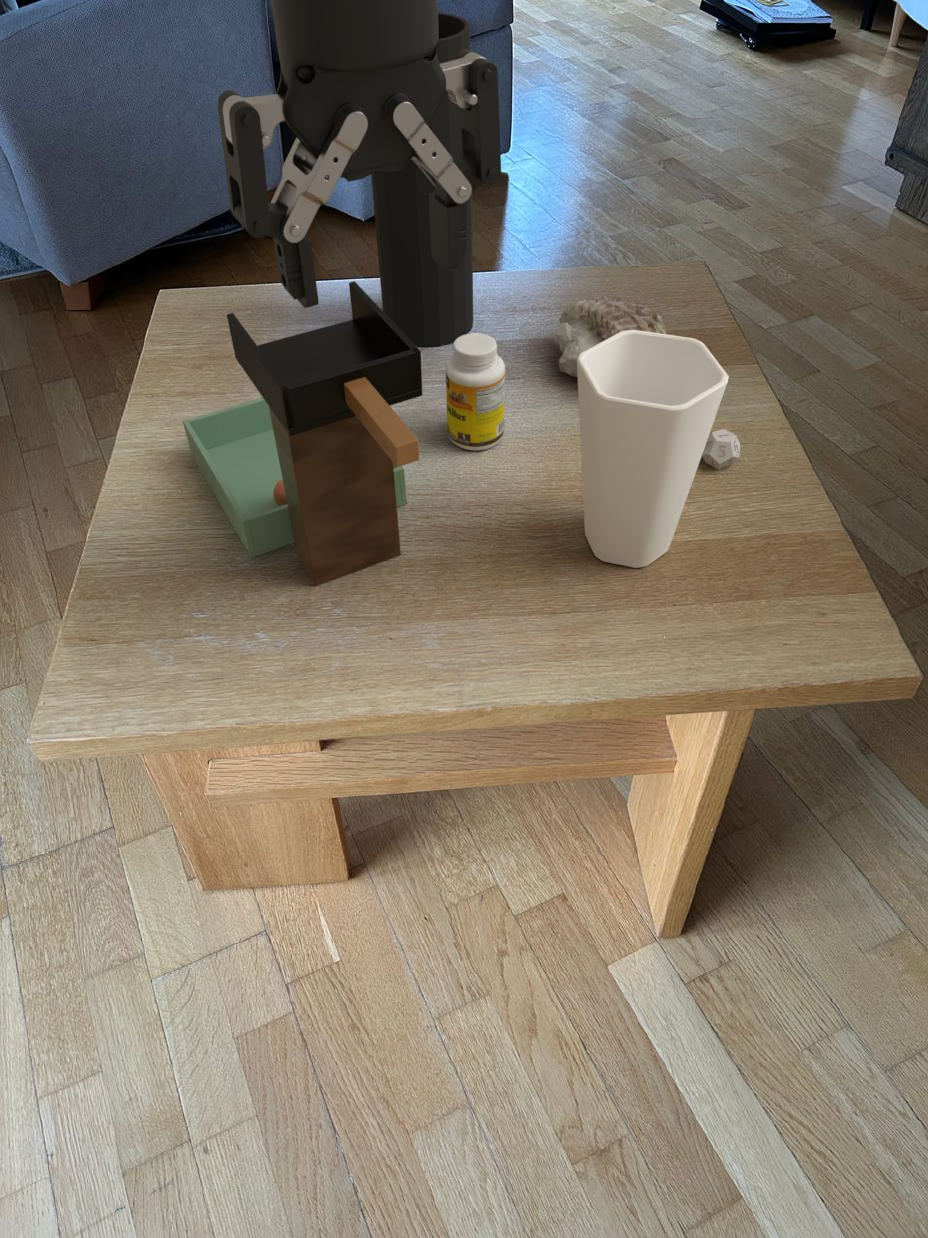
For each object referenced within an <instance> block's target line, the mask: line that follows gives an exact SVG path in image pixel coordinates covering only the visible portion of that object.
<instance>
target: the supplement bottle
mask: <svg viewBox="0 0 928 1238" xmlns="http://www.w3.org/2000/svg"><path fill="white" fill-rule="evenodd" d="M497 347H498V345H497V341H496V340H495V339H494V337H492V336H490V335H488V334H485V333H479V332H471V333H467V334H465V335H462V336H460V337H458V338H457V339H456V340H455V342H453V351H452V356H450V357H449V358H448V360H447V362H446V364H445V384H446V385H445V392H446V393H445V394H446V423H447V436H448V438H449V439H450V441H451V442H452V443H453V444H454V445H456V446H457V447H459V448H461V449H464V450H468V451H484V450H487V449H491V448H493V447H495V446H496V445H498V444H499V442H500V441H501V440H502V439H503V438H504V432H505V408H506V407H505V401H506V365H505V364H506V363H505V362H504V360H503V358H502V357H500V355H498V350H497V349H498V348H497Z"/></svg>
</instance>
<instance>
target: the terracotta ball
mask: <svg viewBox="0 0 928 1238" xmlns="http://www.w3.org/2000/svg"><path fill="white" fill-rule="evenodd" d="M273 498H274V501H275V503H276V504H277V505H278V507H280V506H283V505H286V504H287V500H286V494H285V489H284V484H283V479H282V480H280V481H279V482H278V483H277V484H276V485H275V487H274V490H273Z"/></svg>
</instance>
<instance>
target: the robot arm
mask: <svg viewBox="0 0 928 1238" xmlns="http://www.w3.org/2000/svg"><path fill="white" fill-rule="evenodd" d="M438 1H439V0H270V2H271V3H270V4H271V8H272V10H271V11H272V17H273V25H274V31H275V40H276V47H277V53H278V59H279V64H280V65H279V66H280V78H279V83H278V87H277V89H276V93H275V94H274V93H273V94H265V95H255V96H247V97H242V96H241V95H240V94H239V93H237V92H236V91H234V90H225V91H223V92H222V93H221V94H220V95H219V96H218V98H217V112H218V119H219V127H220V135H221V143H222V150H223V151H222V152H223V160H224V167H225V176H226V183H227V190H228V197H229V198H228V199H229V206H230V212H231V214H232V216H233V217H234V219H236V221H237V222H238V223H239V224H240V225H241V226H242V227H243V228H244V229H245V231H247V232H248V234H249V235H250V236H251V237H252V238H256V239H262V238H265V236H266V237H272V239H273V245H274V251H275V257H276V264H277V265H276V266H277V270H278V277H279V282H280V283H281V285H282V287H283V288H284V290H285V291H286V293H288V294H289V295H290V297H291V298H292V299H293V300H294V301H295V300H297V302H298V303H300V304H301V306H302V307H303V308H304V309H308V308H312V307H316V306H318V305H319V303H320V302H319V294H318V293H319V292H318V285H317V279H316V270H315V262H314V256H313V247H312V241H311V239H310V238H309V237H308V236H307V233H308V231H309V229H310V227H311V225H312V223H313V221H314V220H315V217H316V215H317V213H318V211H319V209H320V207H321V206H323V205H325V204H326V203H328V202H329V201H330V199H331V197H332V195H333V193H334V190H335V188H336V187H337V185H338V183H339V180H340V179H341V178H342V179H345V180H346V181H347V182H348V183H349V182H354V181H359V180H363V179H365V178H366V177H367V178H368V177H369V176H371V174H372V173H374V172H377V171H380V172H395V171H400V170H405V167H404V165H405V164H406V163H407V162H409V161H410V160H411V159H412V160H413V161H414V162H415V163H416V164H417V166H418V167H419V168H420V169H421V170H422V172H423V173H424V174H425V175H426V177H427V178H428V179H429V180H430V181H431V183H432V184H433V185H434V186H435V193H431V194H429V210H430V237H431V254H432V258H433V260H434V262H435V263H436V264H438V265H439V266H440V267H441V268H442V269H443V270H444V271H446V272H448V271H452V270H456V269H458V268H459V266H460V258H461V257H464V256H465V253H466V249H467V200H468V199H469V198H470V196H471V193H472V194H473V192H474V191H475V190H477V189H478V188H480V187H481V186H483V185H484V184H485V185H487V186H491V185H494V184H495V183H497V182H498V181H499V180H500V177H501V176H502V157H501V156H502V154H501V132H500V131H501V129H500V128H501V127H500V126H501V125H500V101H499V75H498V74H499V72H498V67H497V66H496V64H495V63H494V62H492V61H490V60H488V59H487V58H485V57H484V56H482V55H480V54H478V53H476V52H473V51H471V49H470V50H467V49H463V50H461V51H459V52H458V53H457V55H456V56H455V59H454V60H453V61H449V62H445V63H441V64H439V62H438V59H437V54H436V46H437V41H438V36H439V32H438V12H439V2H438ZM446 90H447V92H448V96H449V99H450V100H451V102H453V103H454V104H456V108H457V123H458V138H459V152H460V158H459V159H458V160H456V161H455V162H453V158H452V157H451V155H450V154H449V153H448V152H447V150H446V149H445V148H444V146H443V145H442V144H441V143H440V141H439V140H438V139H437V137H436V136H435V135H434V133H433V132H432V131H431V130H430V128H429V126H430V124H431V122H432V120H433V118H434V116H435V114H436V112H437V110H438V108H439V106H440V104H441V102H442V100H443V98H444V95H445V92H446ZM280 123H283V124H284V125H285V126H286V127H287V128H288V129H289V131H290V132H291V133H292V135H294V136H295V137H296V138H295V140H294V141H293V144H292V146H291V148H290V151H289V153H288V154H287V157H286V159H285V161H284V163H283V165H282V167H281V168H282V169H281V174H282V175H281V176H282V177H281V180H280V182H279V184H278V186H277V188H276V191H275V192H274V194H273V197H272V199H271V202H269V193H268V185H267V184H268V182H267V174H266V164H265V154H264V150H267V149H269V147H271V145H272V143H273V142H274V141H273V140H274V132H275V130H276V127H277V126H278V125H279V124H280Z"/></svg>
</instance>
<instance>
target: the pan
mask: <svg viewBox="0 0 928 1238" xmlns="http://www.w3.org/2000/svg"><path fill="white" fill-rule="evenodd" d="M348 286H349V298H350V308H351V318H352V319H349V320H346V321H345V320H344V321H342V322H338V323H334V324H330V325H326V326H323V327H319V328H316V329H312V330H309V331H305V332H300V333H297V334H293V335H290V336H287V337H283V338H280V339H276V340H272V341H269V342H265V343H261V344H257V343H256V342H255V341H254V339H253V338H252V337H251V335H250V334H249V332H248V331H247V330H246V328H245V327H244V326H243V325H242V323H241V322H240V320H239V319H238V317H237V316H236V315H235V313H234V312H231V313H227V314H226V319H227V323H228V327H229V333H230V337H231V342H232V347H233V348H232V349H233V352H234V357H235V360H236V362H237V363H238V364H239V366H240V367H241V368H242V370H243V371H244V372H245V374H246V376H247V377H248V378H249V380H250V381H251V383H252V384H253V385H254V387H255V388H256V390H257V391H258V393H259V394H260V396H261V398H264V400H265V401H266V403H267V404H268V405H269V407H270V408H271V410H272V411H273V413H274V414H275V416H276V417H277V418H278V420H279V421H280V423H281V424H282V426H283V427H284V429H285V430H286V431H287V433H288V434H289V436H293V435H297V434H300V433H303V432H306V431H310V430H313V429H316V428H319V427H322V426H326V425H329V424H332V423H335V422H339V421H342V420H345V419H348V418H351V417H355V416H357V418H358V419H359V420H360V421H361V423H362V424H363V425H364V426H365V428H366V429H367V430H368V431H369V433H370V434H371V435H372V436H373V438H374V439H375V440H376V441H377V443H378V444H379V445H380V447H381V448H382V449H383V450H384V452H385V453H386V454H387V455H388V457H389V458H390V459H391V460H392V462H393V463H394V464H395V465H396V467H400V466H403V467H404V466H406V465H408V464H411V463H414V462H418V461H420V448H419V447H420V446H419V439H418V437H417V436H416V435H415V434H414V433H413V432H412V430H410V427H408V426H407V424H406V423H405V422H404V421H403V419H401V418H400V417H399V415H398V414H397V413H396V412H395V410H393V408H392V407H391V406H394V405H396V404H399V403H403V402H406V401H409V400H412V399H416V398H419V397H422V396H423V379H422V378H423V377H422V355H421V350H420V348H419V347H418V346H415V344H414V343H413V342H412V341H411V340H410V339H409V338H408V337H407V336H406V335H405V334H404V333H403V332H402V331H401V330H400V329H399V328H398V327H397V325H396V324H395V323H394V322H393V321H392V320H391V319H390V318H389V317H388V316H387V315H386V314H385V313H384V312H383V309H382V308H381V307H380V306H379V305H378V304H377V303H376V301H374V300H373V299H372V298H371V297H370V295H369V294H367V293H366V292H365V291H364V290H363V288H362V287H361V286H360V285H359V284H358V283H357V282H356V281H354V280H353V281H350V282H348Z"/></svg>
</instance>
